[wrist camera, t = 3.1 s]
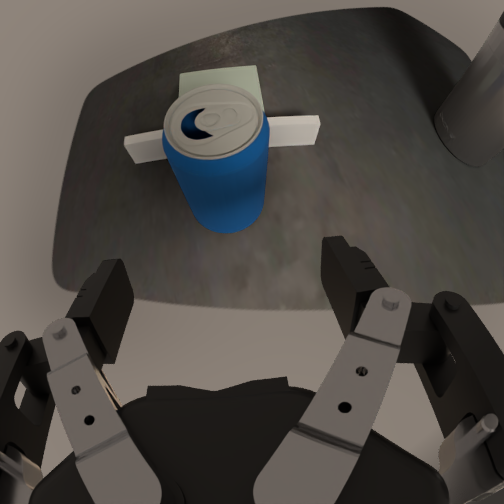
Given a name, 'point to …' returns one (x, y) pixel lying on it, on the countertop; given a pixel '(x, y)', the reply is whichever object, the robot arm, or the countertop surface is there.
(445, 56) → the countertop surface
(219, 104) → the beverage can
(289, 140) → the low wall
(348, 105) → the countertop surface
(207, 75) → the mat
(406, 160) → the countertop surface
